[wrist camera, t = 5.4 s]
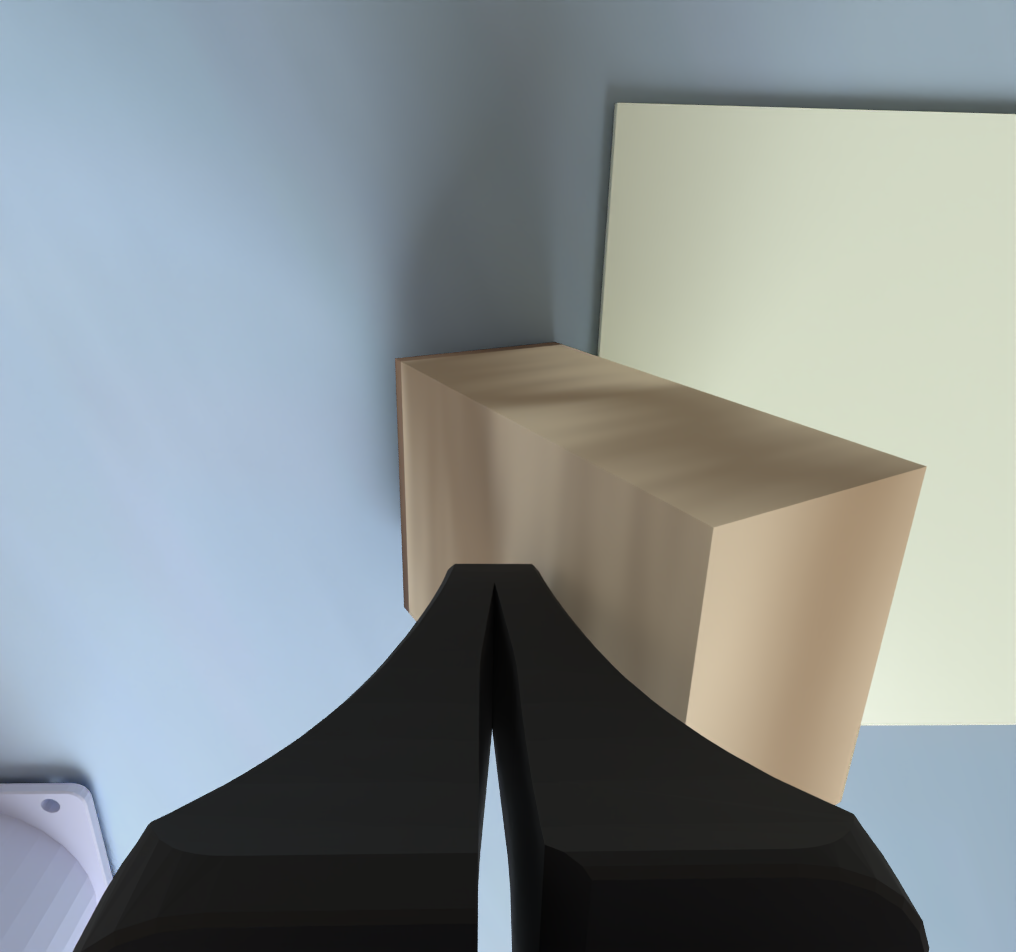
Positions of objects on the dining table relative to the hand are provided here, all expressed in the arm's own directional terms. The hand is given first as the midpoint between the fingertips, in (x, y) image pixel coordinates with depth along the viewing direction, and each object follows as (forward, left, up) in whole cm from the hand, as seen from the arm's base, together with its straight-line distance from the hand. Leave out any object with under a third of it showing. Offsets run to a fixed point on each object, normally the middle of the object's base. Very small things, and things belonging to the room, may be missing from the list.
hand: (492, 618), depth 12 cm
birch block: (0, 0, -6) cm, 6 cm away
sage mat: (+9, 0, -7) cm, 12 cm away
